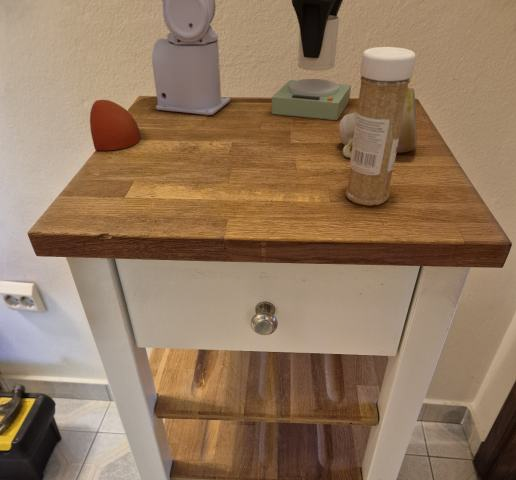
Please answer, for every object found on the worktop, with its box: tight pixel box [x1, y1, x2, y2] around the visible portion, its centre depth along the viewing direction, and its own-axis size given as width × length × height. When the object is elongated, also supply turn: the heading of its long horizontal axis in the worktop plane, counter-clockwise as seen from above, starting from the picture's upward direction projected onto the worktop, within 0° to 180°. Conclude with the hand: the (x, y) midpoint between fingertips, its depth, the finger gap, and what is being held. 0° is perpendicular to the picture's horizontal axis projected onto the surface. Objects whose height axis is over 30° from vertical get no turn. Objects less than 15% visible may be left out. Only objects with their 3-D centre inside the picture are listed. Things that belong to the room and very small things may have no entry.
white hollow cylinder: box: [297, 15, 340, 71], centre depth 68 cm, size 5×5×6 cm
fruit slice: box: [89, 99, 141, 152], centre depth 62 cm, size 8×7×5 cm
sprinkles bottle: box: [345, 46, 416, 207], centre depth 45 cm, size 5×5×13 cm
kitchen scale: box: [271, 78, 352, 121], centre depth 72 cm, size 10×10×3 cm
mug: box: [338, 87, 418, 159], centre depth 58 cm, size 8×10×10 cm
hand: (316, 53), depth 69 cm, fingers closed on white hollow cylinder, 5 cm apart
